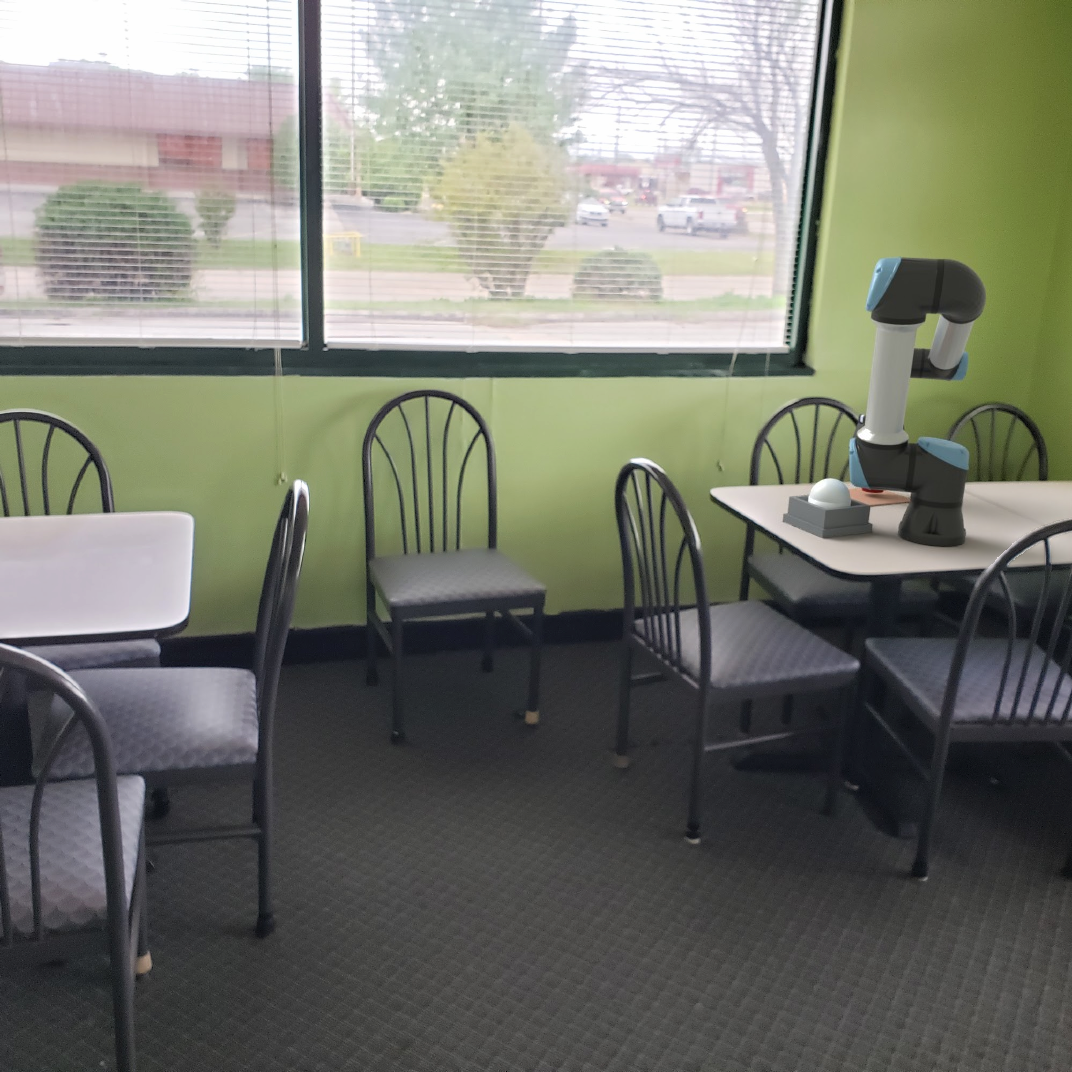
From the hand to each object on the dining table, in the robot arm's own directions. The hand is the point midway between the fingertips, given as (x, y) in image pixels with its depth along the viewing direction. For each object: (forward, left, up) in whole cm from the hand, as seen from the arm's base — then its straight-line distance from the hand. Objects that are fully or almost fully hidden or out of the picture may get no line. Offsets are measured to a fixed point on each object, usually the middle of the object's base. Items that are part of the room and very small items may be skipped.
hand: (874, 474), depth 279 cm
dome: (-20, +32, -4) cm, 38 cm away
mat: (0, 0, -6) cm, 6 cm away
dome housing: (-20, +32, -6) cm, 38 cm away
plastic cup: (0, 0, -5) cm, 5 cm away
